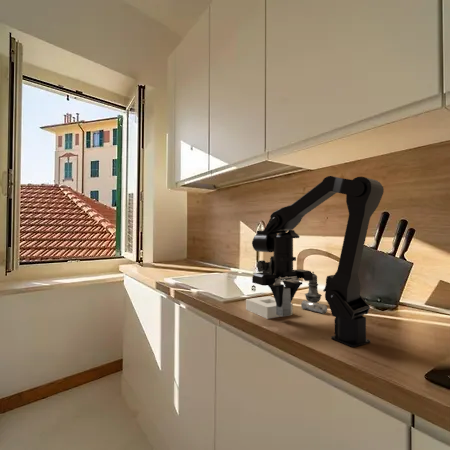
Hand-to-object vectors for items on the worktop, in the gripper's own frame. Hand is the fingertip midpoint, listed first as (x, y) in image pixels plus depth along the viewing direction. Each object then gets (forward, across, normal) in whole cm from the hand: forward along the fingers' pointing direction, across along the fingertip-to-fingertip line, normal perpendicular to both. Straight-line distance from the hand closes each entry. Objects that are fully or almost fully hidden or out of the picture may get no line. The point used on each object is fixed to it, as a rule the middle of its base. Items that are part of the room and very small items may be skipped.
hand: (283, 306), depth 87 cm
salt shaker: (+5, -22, -10) cm, 25 cm away
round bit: (+2, -17, -4) cm, 18 cm away
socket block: (+4, -2, -10) cm, 11 cm away
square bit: (+3, 0, 0) cm, 3 cm away
